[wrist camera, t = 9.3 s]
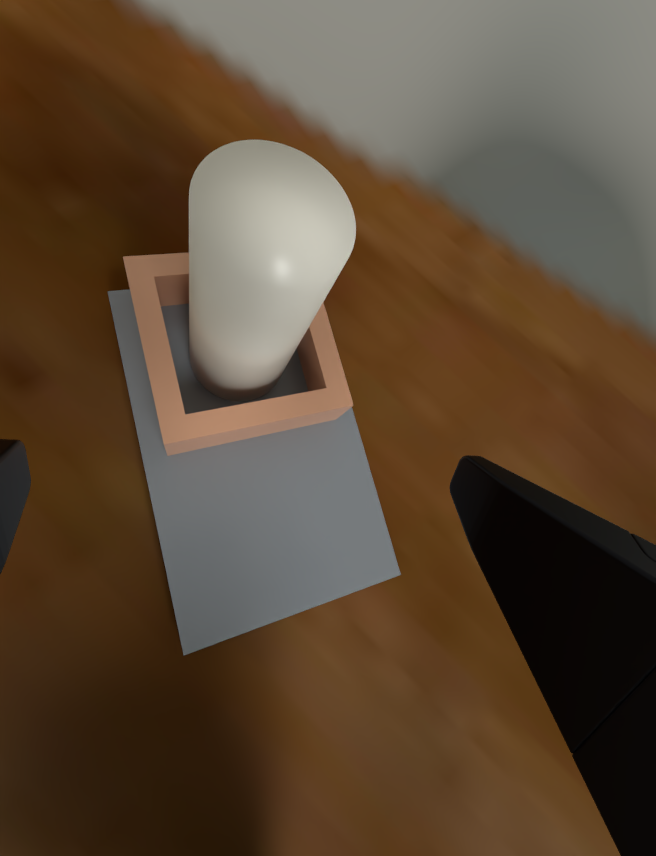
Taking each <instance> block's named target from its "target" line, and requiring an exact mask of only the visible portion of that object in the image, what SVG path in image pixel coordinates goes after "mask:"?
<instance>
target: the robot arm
mask: <svg viewBox="0 0 656 856" xmlns="http://www.w3.org/2000/svg"><path fill="white" fill-rule="evenodd" d="M30 484H31V478H30V472H29V466H28V461H27V455H26V450H25V446H24V444H23V443H22V442H21V441H20V440H8V439H0V574H1V572H2V569H3V567H4V565H5V562H6V560H7V557H8V554H9V551H10V548H11V545H12V542H13V539H14V536H15V533H16V530H17V527H18V524H19V521H20V518H21V515H22V512H23V509H24V506H25V503H26V500H27V497H28V493H29V490H30ZM450 493H451V496H452V499H453V501H454V504H455V507H456V509H457V512H458V515H459V518H460V520H461V523H462V526H463V528H464V531H465V534H466V536H467V539H468V542H469V544H470V547H471V549H472V551H473V553H474V555H475V558H476V560H477V562H478V564H479V566H480V568H481V570H482V572H483V574H484V576H485V578H486V580H487V582H488V584H489V586H490V588H491V590H492V592H493V594H494V596H495V598H496V601H497V603H498V605H499V607H500V609H501V611H502V613H503V615H504V617H505V619H506V621H507V623H508V625H509V627H510V629H511V631H512V633H513V635H514V637H515V639H516V641H517V643H518V646H519V648H520V650H521V652H522V654H523V656H524V658H525V660H526V662H527V664H528V666H529V668H530V670H531V672H532V674H533V676H534V678H535V680H536V682H537V684H538V686H539V688H540V691H541V693H542V695H543V697H544V699H545V701H546V703H547V705H548V707H549V709H550V711H551V713H552V715H553V717H554V719H555V721H556V723H557V725H558V727H559V729H560V731H561V733H562V736H563V738H564V740H565V742H566V744H567V746H568V748H569V750H570V752H571V753H573V755H572V757H573V759H574V761H575V763H576V765H577V767H578V769H579V771H580V773H581V775H582V777H583V779H584V781H585V783H586V785H587V787H588V789H589V792H590V794H591V796H592V798H593V800H594V802H595V804H596V806H597V808H598V810H599V812H600V814H601V816H602V818H603V820H604V822H605V824H606V826H607V828H608V830H609V832H610V835H611V837H612V839H613V841H614V843H615V845H616V847H617V849H618V851H619V853H620V855H621V856H656V545H654V544H652V543H650V542H648V541H646V540H644V539H643V538H641V537H639V536H637V535H635V534H630V533H629V532H628V531H627V530H625V529H623V528H621V527H619V526H617V525H615V524H613V523H611V522H609V521H607V520H605V519H603V518H601V517H599V516H597V515H595V514H593V513H591V512H589V511H587V510H585V509H583V508H581V507H579V506H577V505H575V504H573V503H571V502H569V501H568V500H566V499H564V498H562V497H560V496H558V495H556V494H554V493H552V492H550V491H548V490H546V489H544V488H542V487H540V486H538V485H536V484H534V483H532V482H530V481H528V480H526V479H524V478H522V477H520V476H518V475H516V474H514V473H512V472H510V471H508V470H506V469H504V468H503V467H501V466H499V465H497V464H495V463H493V462H491V461H489V460H487V459H485V458H483V457H481V456H463V457H462V458H461V459H460V461H459V463H458V466H457V468H456V470H455V473H454V475H453V478H452V480H451V483H450Z"/></svg>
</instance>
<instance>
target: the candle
mask: <svg viewBox="0 0 656 856" xmlns="http://www.w3.org/2000/svg"><path fill="white" fill-rule="evenodd" d="M355 235H356V224H355V217H354V212H353V209H352V206H351V203H350V201H349V199H348V197H347V195H346V193H345V192H344V190H343V188H342V187H341V185H340V184H339V183H338V181H337V180H336V179H335V178H334V177H333V175H332V174H331V173H330V172H329V171H328V170H327V169H326V168H324V167H323V166H322V165H321V164H320V163H318V162H317V161H316V160H314V159H313V158H311V157H310V156H308V155H306V154H305V153H303V152H301V151H299V150H297V149H295V148H292V147H290V146H287V145H284V144H281V143H277V142H272V141H266V140H242V141H237V142H232V143H229V144H227V145H224V146H221V147H220V148H218V149H216V150H214V151H213V152H211V153H210V154H209V155H208V156H206V157H205V158H204V160H203V161H202V162H201V163H200V164H199V166H198V167H197V169H196V170H195V172H194V175H193V177H192V180H191V184H190V188H189V357H190V364H191V368H192V370H193V373H194V375H195V377H196V378H197V380H198V381H199V382H200V384H201V385H202V386H203V387H204V388H205V389H207V390H208V391H209V392H211V393H212V394H214V395H216V396H218V397H220V398H223V399H226V400H230V401H249V400H253V399H256V398H259V397H261V396H263V395H264V394H266V393H267V392H269V391H270V390H271V389H272V388H273V387H274V386H275V384H276V383H277V381H278V380H279V378H280V376H281V374H282V373H283V371H284V369H285V367H286V366H287V364H288V362H289V361H290V359H291V357H292V355H293V354H294V352H295V350H296V348H297V347H298V345H299V343H300V341H301V340H302V338H303V336H304V335H305V333H306V331H307V329H308V328H309V326H310V324H311V322H312V321H313V319H314V317H315V315H316V314H317V312H318V310H319V308H320V307H321V305H322V303H323V302H324V300H325V298H326V296H327V295H328V293H329V291H330V289H331V288H332V286H333V284H334V282H335V281H336V279H337V277H338V275H339V274H340V272H341V270H342V269H343V267H344V265H345V263H346V262H347V260H348V258H349V256H350V254H351V252H352V249H353V246H354V242H355Z"/></svg>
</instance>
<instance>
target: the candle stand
mask: <svg viewBox="0 0 656 856" xmlns="http://www.w3.org/2000/svg"><path fill="white" fill-rule="evenodd" d="M123 260H124V264H125V269H126V273H127V278H128V283H129V287H130V289H129V290H117V291H108V296H109V301H110V306H111V310H112V315H113V320H114V325H115V330H116V334H117V339H118V344H119V349H120V353H121V358H122V363H123V368H124V373H125V377H126V382H127V387H128V392H129V396H130V401H131V406H132V411H133V416H134V420H135V425H136V430H137V435H138V440H139V444H140V449H141V454H142V459H143V463H144V468H145V473H146V478H147V483H148V487H149V492H150V497H151V502H152V506H153V511H154V516H155V521H156V526H157V530H158V535H159V540H160V545H161V550H162V554H163V559H164V564H165V569H166V573H167V578H168V583H169V588H170V593H171V597H172V602H173V607H174V612H175V616H176V621H177V626H178V631H179V636H180V640H181V645H182V650H183V655H187V654H189V653H192V652H195V651H197V650H200V649H203V648H205V647H208V646H211V645H213V644H216V643H219V642H222V641H224V640H227V639H230V638H232V637H235V636H238V635H240V634H243V633H246V632H248V631H251V630H254V629H256V628H259V627H262V626H264V625H267V624H270V623H273V622H275V621H278V620H281V619H283V618H286V617H289V616H291V615H294V614H297V613H299V612H302V611H305V610H307V609H310V608H313V607H316V606H318V605H321V604H324V603H326V602H329V601H332V600H334V599H337V598H340V597H342V596H345V595H348V594H350V593H353V592H356V591H358V590H361V589H364V588H367V587H369V586H372V585H375V584H377V583H380V582H383V581H385V580H388V579H391V578H393V577H396V576H399V575H401V574H400V570H399V567H398V564H397V560H396V557H395V553H394V550H393V546H392V543H391V540H390V536H389V533H388V529H387V526H386V523H385V519H384V516H383V512H382V509H381V505H380V502H379V499H378V495H377V492H376V488H375V485H374V482H373V478H372V475H371V471H370V468H369V464H368V461H367V458H366V454H365V451H364V447H363V444H362V441H361V437H360V434H359V430H358V427H357V423H356V420H355V417H354V413H353V410H352V406H353V402H352V398H351V395H350V391H349V388H348V385H347V381H346V378H345V374H344V371H343V368H342V364H341V361H340V357H339V354H338V350H337V347H336V344H335V340H334V337H333V333H332V330H331V327H330V323H329V320H328V316H327V313H326V310H325V306H324V303H322V305H321V307H320V308H319V310H318V312H317V314H316V315H315V317H314V319H313V321H312V322H311V324H310V326H309V328H308V329H307V331H306V333H305V335H304V336H303V338H302V340H301V341H300V343H299V345H298V347H297V348H296V350H295V352H294V354H293V355H292V357H291V359H290V361H289V362H288V364H287V366H286V367H285V369H284V371H283V373H282V374H281V376H280V378H279V380H278V381H277V383H276V384H275V386H274V387H273V388H272V389H271V390H270V391H269V392H267V393H266V394H264V395H263V396H261V397H259V398H256V399H253V400H249V401H230V400H226V399H223V398H220V397H218V396H216V395H214V394H212V393H211V392H209V391H208V390H207V389H205V388H204V387H203V386H202V385H201V384H200V382H199V381H198V380H197V378H196V377H195V375H194V373H193V370H192V368H191V364H190V357H189V252H188V253H172V254H156V255H140V256H124V257H123Z"/></svg>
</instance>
